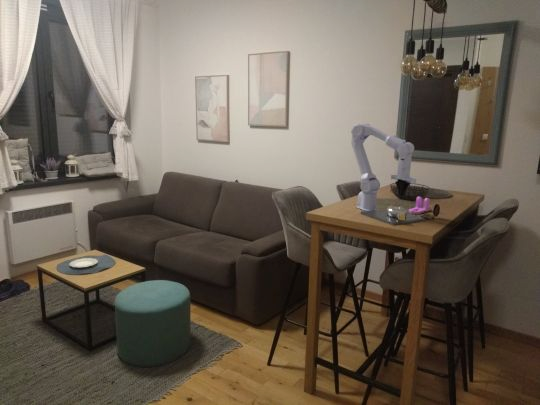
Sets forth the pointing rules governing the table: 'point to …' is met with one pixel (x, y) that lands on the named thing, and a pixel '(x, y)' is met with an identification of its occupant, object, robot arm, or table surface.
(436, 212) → the compass
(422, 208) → the bracket
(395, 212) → the silver disc with handle
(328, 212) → the table surface
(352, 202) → the table surface
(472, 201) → the table surface
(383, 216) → the plate
